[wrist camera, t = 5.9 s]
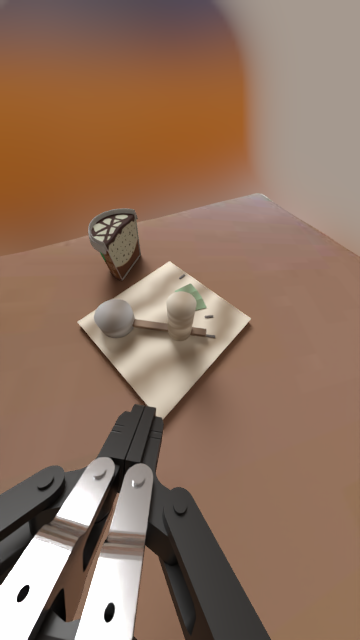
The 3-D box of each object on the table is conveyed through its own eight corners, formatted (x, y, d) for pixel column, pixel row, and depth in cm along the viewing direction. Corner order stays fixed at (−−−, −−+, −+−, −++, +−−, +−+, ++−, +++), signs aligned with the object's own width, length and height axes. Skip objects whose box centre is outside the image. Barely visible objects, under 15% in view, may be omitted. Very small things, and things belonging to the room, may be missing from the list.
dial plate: (80, 325, 31) (76, 321, 30) (169, 265, 40) (169, 260, 39) (161, 421, 24) (160, 421, 22) (248, 321, 33) (251, 318, 31)
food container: (121, 245, 43) (108, 202, 35) (143, 251, 42) (135, 208, 34) (94, 278, 37) (70, 235, 29) (118, 285, 36) (101, 244, 28)
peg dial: (95, 335, 28) (69, 307, 21) (108, 306, 31) (88, 273, 24) (204, 351, 28) (214, 327, 20) (206, 320, 31) (216, 290, 24)
